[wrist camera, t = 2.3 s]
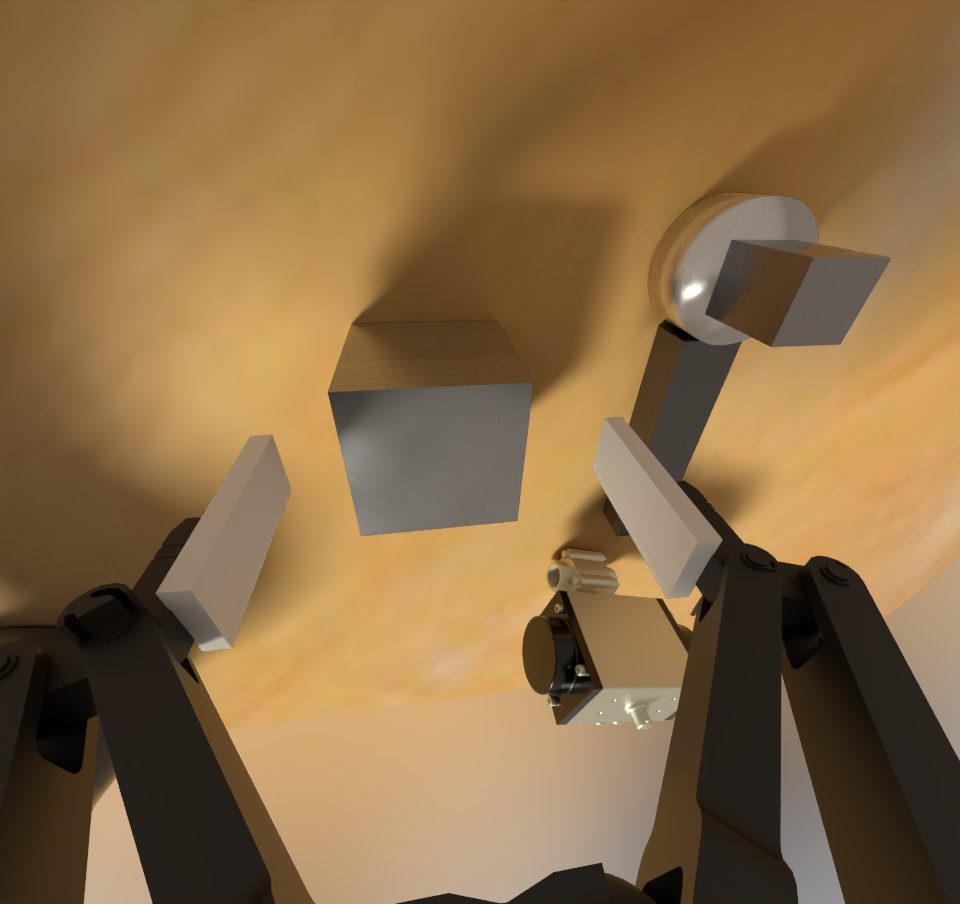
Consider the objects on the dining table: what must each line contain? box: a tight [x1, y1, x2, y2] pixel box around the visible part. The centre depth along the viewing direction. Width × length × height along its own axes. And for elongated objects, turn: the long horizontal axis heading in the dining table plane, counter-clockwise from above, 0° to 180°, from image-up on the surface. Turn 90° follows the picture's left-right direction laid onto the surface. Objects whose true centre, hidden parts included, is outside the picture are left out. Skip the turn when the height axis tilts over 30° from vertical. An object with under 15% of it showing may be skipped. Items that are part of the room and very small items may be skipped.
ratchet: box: [603, 192, 891, 536], centre depth 21 cm, size 6×20×7 cm, turn 179°
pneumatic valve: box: [522, 548, 693, 729], centre depth 28 cm, size 6×12×12 cm, turn 70°
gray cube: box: [328, 320, 533, 536], centre depth 18 cm, size 7×7×7 cm
